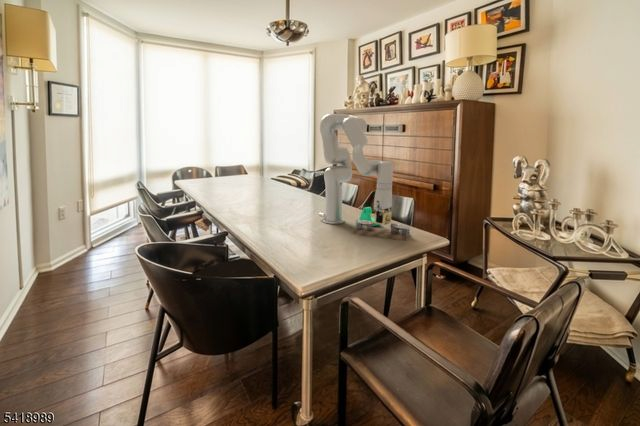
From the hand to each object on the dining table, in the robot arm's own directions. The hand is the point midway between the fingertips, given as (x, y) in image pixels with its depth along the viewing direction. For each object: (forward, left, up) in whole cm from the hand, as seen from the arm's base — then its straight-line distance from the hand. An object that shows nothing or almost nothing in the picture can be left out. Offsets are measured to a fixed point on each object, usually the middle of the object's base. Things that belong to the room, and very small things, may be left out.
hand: (382, 221), depth 181 cm
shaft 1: (-9, -1, -5) cm, 10 cm away
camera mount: (-11, +15, -7) cm, 20 cm away
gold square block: (0, 0, -1) cm, 1 cm away
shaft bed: (0, -1, -7) cm, 7 cm away
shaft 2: (+9, -1, -5) cm, 10 cm away
